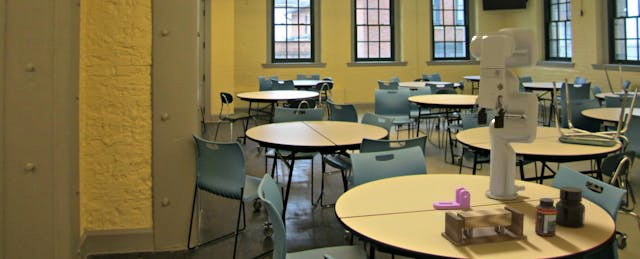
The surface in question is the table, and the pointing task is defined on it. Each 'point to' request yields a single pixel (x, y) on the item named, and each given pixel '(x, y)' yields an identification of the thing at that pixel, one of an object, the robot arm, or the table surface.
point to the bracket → (456, 201)
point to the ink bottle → (570, 207)
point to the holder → (483, 230)
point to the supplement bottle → (545, 217)
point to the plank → (485, 218)
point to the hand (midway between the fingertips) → (490, 126)
